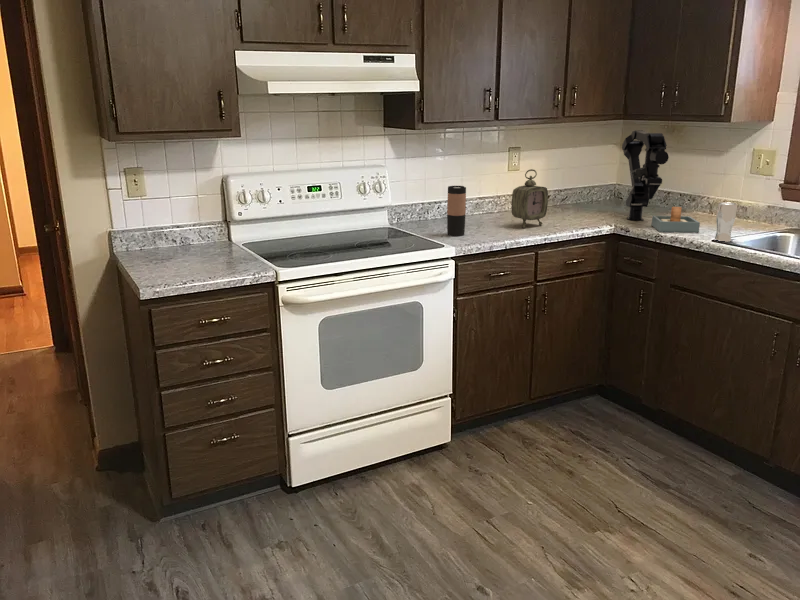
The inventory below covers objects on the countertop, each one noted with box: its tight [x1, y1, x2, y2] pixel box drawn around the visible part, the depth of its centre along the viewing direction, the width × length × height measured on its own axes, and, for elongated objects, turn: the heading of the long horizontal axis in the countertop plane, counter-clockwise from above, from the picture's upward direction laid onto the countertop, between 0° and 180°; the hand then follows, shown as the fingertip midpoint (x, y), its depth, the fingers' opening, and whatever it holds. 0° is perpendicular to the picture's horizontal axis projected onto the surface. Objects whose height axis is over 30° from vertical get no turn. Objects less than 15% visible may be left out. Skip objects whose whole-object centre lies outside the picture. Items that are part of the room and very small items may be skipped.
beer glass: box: [714, 201, 738, 243], centre depth 272 cm, size 7×7×15 cm
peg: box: [670, 206, 683, 222], centre depth 296 cm, size 4×4×9 cm
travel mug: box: [446, 185, 467, 237], centre depth 284 cm, size 8×8×20 cm
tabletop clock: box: [511, 168, 549, 229], centre depth 302 cm, size 14×9×25 cm, turn 126°
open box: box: [651, 215, 701, 233], centre depth 297 cm, size 15×16×4 cm
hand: (648, 197), depth 305 cm, fingers open, 9 cm apart
